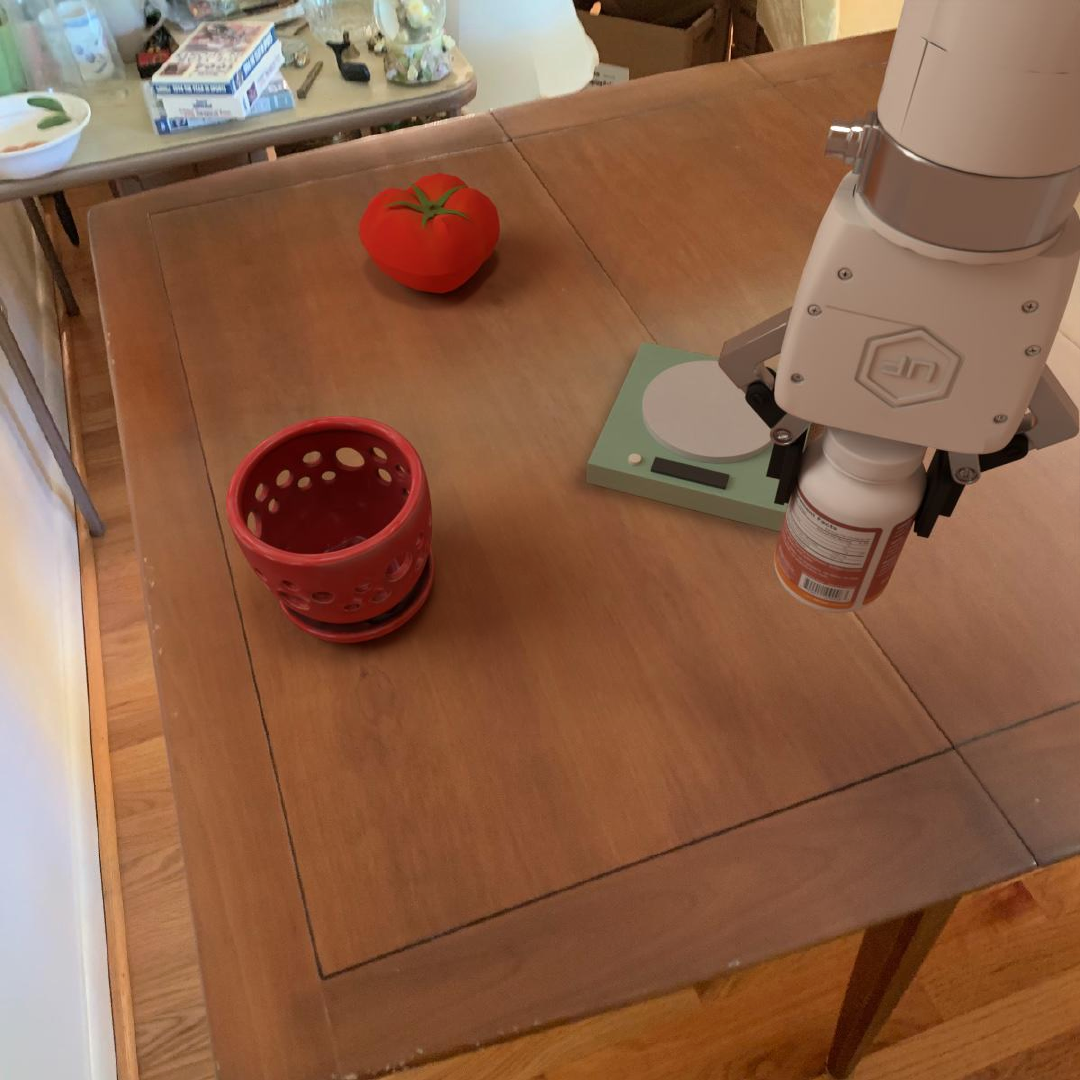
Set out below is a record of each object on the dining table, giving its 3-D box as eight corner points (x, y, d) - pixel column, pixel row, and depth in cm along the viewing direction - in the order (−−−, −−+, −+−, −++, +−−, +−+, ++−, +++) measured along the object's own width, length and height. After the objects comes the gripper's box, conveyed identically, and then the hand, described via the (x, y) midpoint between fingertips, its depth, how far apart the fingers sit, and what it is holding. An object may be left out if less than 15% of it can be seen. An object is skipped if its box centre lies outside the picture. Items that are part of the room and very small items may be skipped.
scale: (816, 400, 85) (824, 372, 83) (782, 533, 76) (789, 505, 73) (640, 361, 89) (643, 333, 86) (586, 483, 79) (587, 455, 77)
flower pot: (320, 505, 78) (289, 392, 69) (470, 550, 75) (458, 439, 66) (230, 631, 70) (182, 524, 61) (393, 688, 67) (367, 584, 58)
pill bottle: (853, 519, 56) (906, 371, 48) (907, 602, 52) (975, 458, 44) (753, 542, 55) (789, 396, 47) (801, 629, 51) (849, 487, 43)
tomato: (372, 323, 93) (358, 242, 86) (361, 248, 101) (348, 169, 94) (515, 304, 94) (512, 224, 88) (493, 232, 102) (489, 153, 95)
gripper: (712, 187, 35) (668, 514, 49) (1242, 272, 31) (1031, 600, 45) (751, 91, 39) (700, 416, 53) (1218, 156, 36) (1033, 487, 50)
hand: (853, 498), depth 49 cm, fingers closed on pill bottle, 6 cm apart
